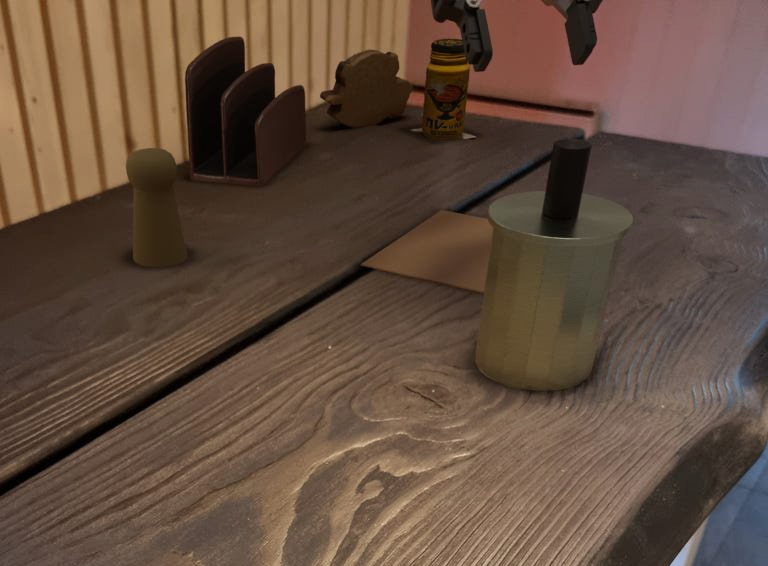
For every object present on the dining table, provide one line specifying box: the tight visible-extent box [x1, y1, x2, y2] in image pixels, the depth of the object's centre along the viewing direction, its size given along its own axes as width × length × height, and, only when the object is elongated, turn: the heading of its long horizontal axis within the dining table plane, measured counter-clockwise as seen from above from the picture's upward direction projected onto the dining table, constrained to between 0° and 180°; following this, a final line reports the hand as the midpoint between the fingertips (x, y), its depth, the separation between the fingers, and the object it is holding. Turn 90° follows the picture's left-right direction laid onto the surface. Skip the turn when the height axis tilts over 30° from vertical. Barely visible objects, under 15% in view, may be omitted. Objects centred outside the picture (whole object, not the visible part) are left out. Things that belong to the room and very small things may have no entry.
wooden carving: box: [319, 49, 414, 129], centre depth 137 cm, size 16×5×10 cm, turn 130°
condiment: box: [411, 37, 477, 140], centre depth 132 cm, size 7×8×12 cm
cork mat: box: [360, 209, 493, 294], centre depth 101 cm, size 20×20×1 cm
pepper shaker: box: [125, 147, 188, 268], centre depth 97 cm, size 6×6×11 cm
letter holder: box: [184, 36, 307, 188], centre depth 122 cm, size 10×20×14 cm, turn 162°
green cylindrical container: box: [474, 227, 623, 392], centre depth 78 cm, size 10×10×12 cm
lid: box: [486, 138, 634, 247], centre depth 72 cm, size 11×11×6 cm
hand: (534, 62), depth 73 cm, fingers open, 8 cm apart
